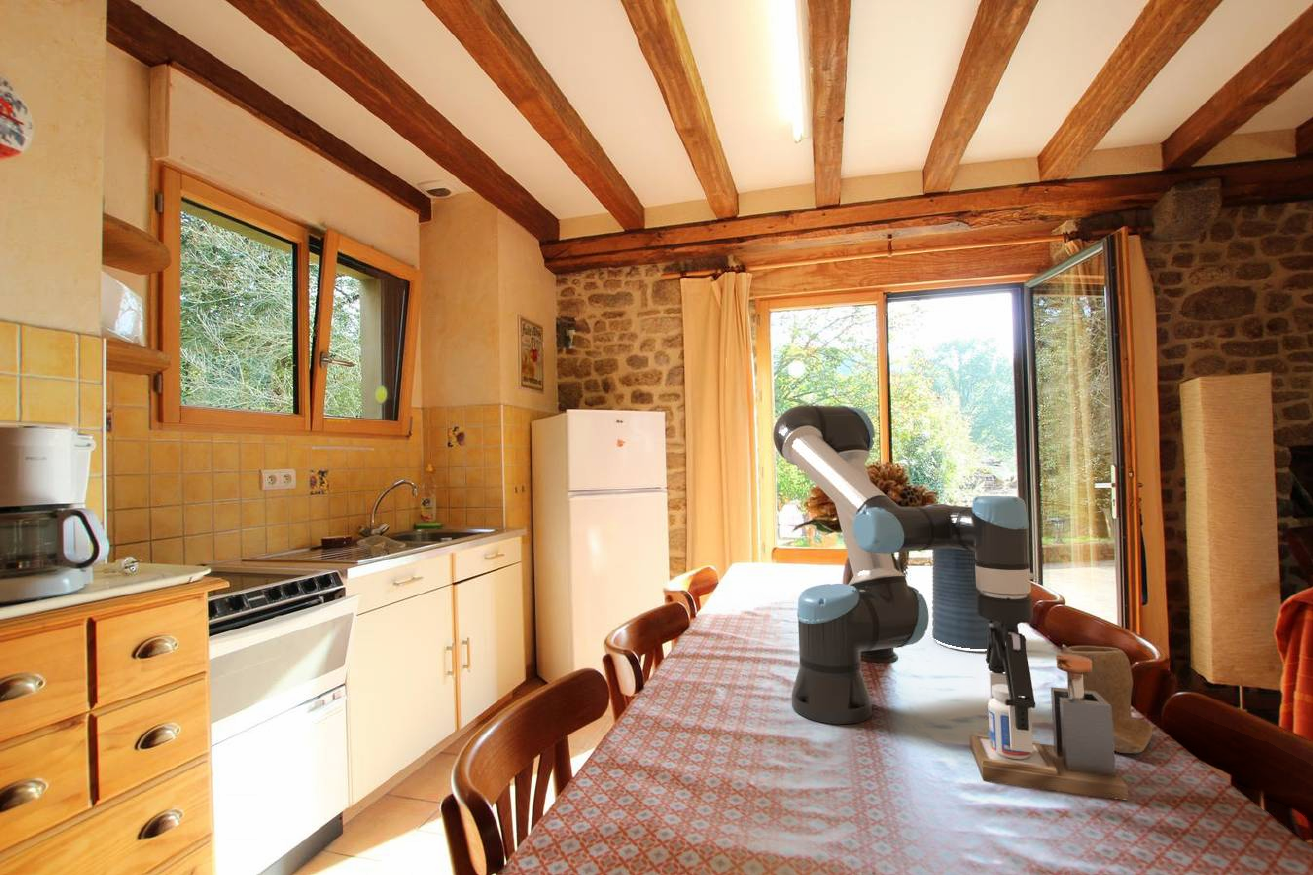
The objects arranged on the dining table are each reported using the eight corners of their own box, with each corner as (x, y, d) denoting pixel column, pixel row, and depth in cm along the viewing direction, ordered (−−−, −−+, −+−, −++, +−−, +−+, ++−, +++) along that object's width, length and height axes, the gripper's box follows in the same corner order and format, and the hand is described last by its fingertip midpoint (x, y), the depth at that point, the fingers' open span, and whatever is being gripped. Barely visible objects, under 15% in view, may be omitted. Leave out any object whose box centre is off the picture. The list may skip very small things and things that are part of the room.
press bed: (983, 780, 87) (982, 762, 87) (970, 747, 97) (969, 731, 98) (1128, 801, 81) (1127, 782, 81) (1098, 763, 91) (1097, 746, 92)
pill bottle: (1038, 755, 90) (1035, 690, 90) (1017, 763, 87) (1014, 697, 88) (1003, 740, 95) (1000, 679, 95) (982, 748, 92) (979, 685, 93)
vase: (1015, 653, 146) (1009, 527, 148) (950, 653, 146) (945, 528, 148) (980, 634, 162) (975, 521, 164) (922, 635, 162) (917, 522, 164)
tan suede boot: (1077, 713, 110) (1072, 633, 111) (1159, 733, 101) (1153, 646, 102) (1054, 739, 100) (1049, 650, 101) (1143, 764, 91) (1137, 667, 92)
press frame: (1066, 770, 86) (1063, 701, 86) (1054, 751, 91) (1050, 687, 92) (1115, 776, 84) (1111, 706, 84) (1099, 757, 89) (1095, 691, 90)
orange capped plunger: (1066, 740, 87) (1061, 661, 87) (1056, 728, 91) (1052, 652, 91) (1101, 744, 85) (1096, 664, 86) (1090, 731, 89) (1085, 655, 90)
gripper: (1055, 613, 79) (1064, 773, 78) (1011, 580, 103) (1018, 702, 101) (993, 609, 82) (1001, 764, 80) (964, 578, 105) (969, 697, 104)
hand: (1010, 730), depth 91 cm, fingers open, 13 cm apart
